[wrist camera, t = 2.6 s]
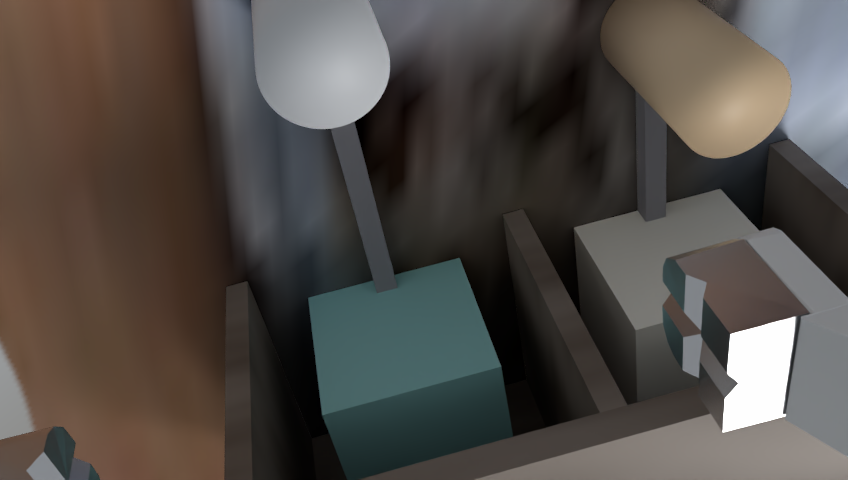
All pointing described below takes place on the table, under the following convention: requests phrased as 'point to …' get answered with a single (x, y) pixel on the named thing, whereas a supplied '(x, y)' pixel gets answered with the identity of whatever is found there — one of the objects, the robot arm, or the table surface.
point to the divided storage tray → (559, 381)
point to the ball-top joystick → (378, 266)
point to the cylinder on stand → (655, 219)
